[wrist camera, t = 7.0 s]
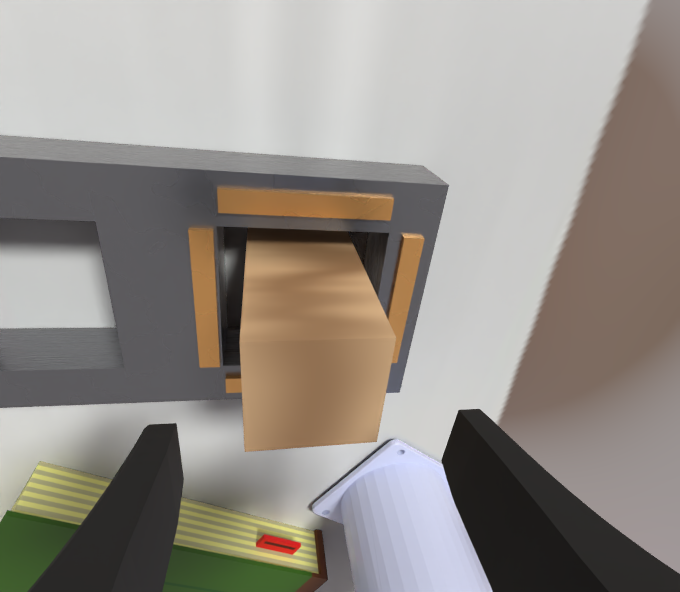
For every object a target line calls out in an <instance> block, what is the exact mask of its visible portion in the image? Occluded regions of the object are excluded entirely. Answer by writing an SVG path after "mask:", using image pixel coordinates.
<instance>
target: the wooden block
mask: <svg viewBox="0 0 680 592" xmlns="http://www.w3.org/2000/svg"><path fill="white" fill-rule="evenodd" d="M395 342H396V336H395V334H394V332H393V330H392V327H391V325H390V323H389V321H388V319H387V317H386V314H385V312H384V310H383V308H382V306H381V304H380V301H379V299H378V297H377V295H376V293H375V290H374V288H373V286H372V284H371V282H370V280H369V277H368V275H367V273H366V271H365V269H364V267H363V264H362V262H361V260H360V258H359V256H358V254H357V251H356V249H355V247H354V245H353V243H352V241H351V238H350V236H349V234H348V232H347V231H328V230H302V229H276V228H250V227H248V231H247V245H246V259H245V273H244V287H243V301H242V315H241V329H240V362H241V384H242V405H243V426H244V447H245V452H249V451H262V450H275V449H288V448H301V447H314V446H328V445H341V444H354V443H367V442H377V437H378V432H379V427H380V421H381V416H382V411H383V405H384V400H385V395H386V389H387V384H388V379H389V374H390V368H391V363H392V358H393V352H394V347H395Z"/></svg>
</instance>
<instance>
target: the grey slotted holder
mask: <svg viewBox="0 0 680 592" xmlns="http://www.w3.org/2000/svg"><path fill="white" fill-rule="evenodd" d="M448 187H449V185H448V184H447V183H445V182H444V181H443V180H441V179H440V178H439V177H437V176H436V175H435V174H433V173H432V172H431V171H429V170H428V169H427V168H425V167H424V166H419V165H405V164H391V163H377V162H364V161H350V160H336V159H322V158H308V157H294V156H280V155H266V154H253V153H239V152H225V151H211V150H197V149H183V148H169V147H155V146H141V145H128V144H114V143H100V142H86V141H72V140H58V139H44V138H30V137H16V136H3V135H0V218H17V219H43V220H69V221H95V222H96V227H97V232H98V237H99V242H100V247H101V252H102V257H103V262H104V267H105V272H106V277H107V282H108V287H109V292H110V297H111V302H112V307H113V312H114V317H115V322H116V327H117V328H37V329H0V408H7V407H33V406H59V405H85V404H111V403H137V402H163V401H189V400H215V399H241V398H242V384H241V362H240V329H241V327H227V303H226V277H225V250H224V227H250V228H276V229H302V230H328V231H354V232H369V233H368V240H367V246H366V253H365V260H364V266H363V267H364V269H365V271H366V273H367V275H368V277H369V280H370V282H371V284H372V286H373V288H374V290H375V293H376V295H377V297H378V299H379V301H380V304H381V306H382V308H383V310H384V312H385V314H386V317H387V319H388V321H389V323H390V325H391V327H392V330H393V332H394V334H395V336H396V342H395V347H394V352H393V358H392V363H391V368H390V374H389V379H388V384H387V389H386V393H398V392H400V388H401V384H402V380H403V376H404V371H405V367H406V363H407V359H408V355H409V350H410V346H411V342H412V338H413V334H414V329H415V325H416V321H417V317H418V313H419V308H420V304H421V300H422V296H423V292H424V287H425V283H426V279H427V275H428V271H429V266H430V262H431V258H432V254H433V250H434V245H435V241H436V237H437V233H438V229H439V224H440V220H441V216H442V212H443V208H444V203H445V199H446V195H447V191H448Z"/></svg>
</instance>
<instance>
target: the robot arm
mask: <svg viewBox="0 0 680 592" xmlns="http://www.w3.org/2000/svg"><path fill="white" fill-rule="evenodd" d="M441 461H442V464H441V463H439V462H438V461H436V460H434V459H432V458H430V457H429V456H427V455H425V454H423V453H421V452H420V451H418V450H416V449H414V448H412V447H411V446H409V445H407V444H405V443H403V442H402V441H400V440H397V439H396V440H391V441H389V442H388V443H387V444H386V445H384V446H383V447H382V448H381V449H379V450H378V451H377V452H376V453H375V454H373V455H372V456H371V457H370V458H368V459H367V460H366V461H365V462H364V463H362V464H361V465H360V466H359V467H357V468H356V469H355V470H354V471H353V472H351V473H350V474H349V475H348V476H347V477H345V478H344V479H343V480H342V481H340V482H339V483H338V484H337V485H336V486H334V487H333V488H332V489H331V490H329V491H328V492H327V493H326V494H325V495H323V496H322V497H321V498H320V499H318V500H317V501H316V502H315V503H314V504H313V505H312V510H313V513H315V514H317V515H320V516H322V517H325V518H327V519H330V520H333V521H335V522H338V523H341V524H343V525H344V531H345V537H346V543H347V549H348V555H349V560H350V566H351V572H352V578H353V584H354V589H355V592H680V574H679V573H677V572H676V571H674V570H673V569H671V568H670V567H668V566H667V565H665V564H664V563H662V562H661V561H660V560H658V559H657V558H655V557H654V556H652V555H651V554H650V553H648V552H647V551H645V550H644V549H643V548H641V547H640V546H639V545H637V544H636V543H635V542H633V541H632V540H630V539H629V538H628V537H626V536H625V535H624V534H622V533H621V532H620V531H618V530H617V529H616V528H614V527H613V526H612V525H610V524H609V523H608V522H606V521H605V520H604V519H603V518H601V517H600V516H599V515H598V514H596V513H595V512H594V511H593V510H591V509H590V508H589V507H588V506H587V505H586V504H584V503H583V502H582V501H581V500H580V499H578V498H577V497H576V496H575V495H573V494H572V493H571V492H570V491H569V490H567V489H566V488H565V487H564V486H563V485H562V484H561V483H560V482H558V481H557V480H556V479H555V478H554V477H553V476H552V475H550V474H549V473H548V472H547V471H546V470H544V468H543V467H542V466H540V465H539V464H538V463H537V462H536V461H535V460H534V459H533V458H532V457H531V456H529V455H528V454H527V453H526V452H525V451H524V450H523V449H522V448H521V447H520V446H519V445H518V444H517V443H516V442H515V441H513V440H512V439H511V438H510V437H509V436H508V435H507V434H506V433H505V432H504V431H503V430H502V429H501V428H500V427H499V426H498V425H497V424H495V423H494V422H493V421H492V420H491V419H490V418H489V417H488V416H487V415H486V414H485V413H483V412H482V411H481V410H480V409H469V410H459V411H458V414H457V417H456V420H455V422H454V425H453V428H452V431H451V434H450V437H449V440H448V443H447V446H446V449H445V452H444V455H443V457H442V460H441ZM183 480H184V478H183V470H182V463H181V455H180V447H179V440H178V432H177V424H176V423H175V424H153V425H148V426H147V427H146V428H144V430H143V432H142V434H141V435H140V437H139V439H138V440H137V442H136V444H135V445H134V447H133V449H132V450H131V452H130V454H129V455H128V457H127V458H126V460H125V461H124V463H123V465H122V466H121V468H120V469H119V471H118V472H117V474H116V475H115V477H114V478H113V480H112V481H111V483H110V484H109V485H108V487H107V488H106V490H105V491H104V493H103V494H102V495H101V497H100V498H99V500H98V501H97V503H96V504H95V505H94V507H93V508H92V510H91V511H90V513H89V514H88V515H87V517H86V518H85V519H84V521H83V522H82V523H81V525H80V526H79V527H78V529H77V530H76V531H75V533H74V534H73V535H72V536H71V538H70V539H69V540H68V542H67V543H66V544H65V546H64V547H63V548H62V549H61V551H60V552H59V553H58V555H57V556H56V557H55V559H54V560H53V561H52V562H51V564H50V565H49V566H48V567H47V569H46V570H45V571H44V572H43V573H42V575H41V576H40V577H39V578H38V580H37V581H36V582H35V583H34V584H33V586H32V587H31V588H30V589H29V590H28V591H27V592H162V591H163V586H164V582H165V578H166V573H167V569H168V565H169V561H170V556H171V552H172V548H173V543H174V539H175V535H176V530H177V526H178V520H179V512H180V505H181V497H182V488H183Z"/></svg>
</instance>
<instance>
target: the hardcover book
mask: <svg viewBox="0 0 680 592" xmlns="http://www.w3.org/2000/svg"><path fill="white" fill-rule="evenodd" d="M111 481H112V479H108V478H104V477H100V476H96V475H92V474H89V473H85V472H81V471H77V470H73V469H69V468H65V467H61V466H57V465H53V464H49V463H46V462H42V461H40V462H39V463H38V465H37V467H36V469H35V470H34V472H33V474H32V475H31V477H30V479H29V480H28V482H27V484H26V486H25V487H24V489H23V491H22V492H21V494H20V496H19V497H18V499H17V501H16V503H15V504H14V506H13V508H12V509H11V511H9V510H7V512H6V514H5V515H4V517H3V519H2V520H1V522H0V592H27V591H28V590H29V589H30V588H31V587H32V586H33V584H34V583H35V582H36V581H37V580H38V578H39V577H40V576H41V575H42V573H43V572H44V571H45V570H46V569H47V567H48V566H49V565H50V564H51V562H52V561H53V560H54V559H55V557H56V556H57V555H58V553H59V552H60V551H61V549H62V548H63V547H64V546H65V544H66V543H67V542H68V540H69V539H70V538H71V536H72V535H73V534H74V533H75V531H76V530H77V529H78V527H79V526H80V525H81V523H82V522H83V521H84V519H85V518H86V517H87V515H88V514H89V513H90V511H91V510H92V508H93V507H94V505H95V504H96V503H97V501H98V500H99V498H100V497H101V495H102V494H103V493H104V491H105V490H106V488H107V487H108V485H109V484H110V483H111ZM327 580H328V577H327V569H326V561H325V553H324V545H323V537H322V531H321V530H317V529H316V530H315V531H312V530H308V529H304V528H300V527H296V526H292V525H288V524H284V523H280V522H276V521H272V520H269V519H265V518H261V517H257V516H253V515H249V514H245V513H241V512H237V511H233V510H229V509H226V508H222V507H218V506H214V505H210V504H206V503H202V502H198V501H194V500H190V499H186V498H182V497H181V505H180V512H179V520H178V526H177V530H176V535H175V539H174V543H173V548H172V552H171V556H170V561H169V565H168V569H167V573H166V578H165V582H164V586H163V591H162V592H314V591H315V590H316V589H318V588H319V587H320V586H321V585H322V584H323V583H325V582H326V581H327Z"/></svg>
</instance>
